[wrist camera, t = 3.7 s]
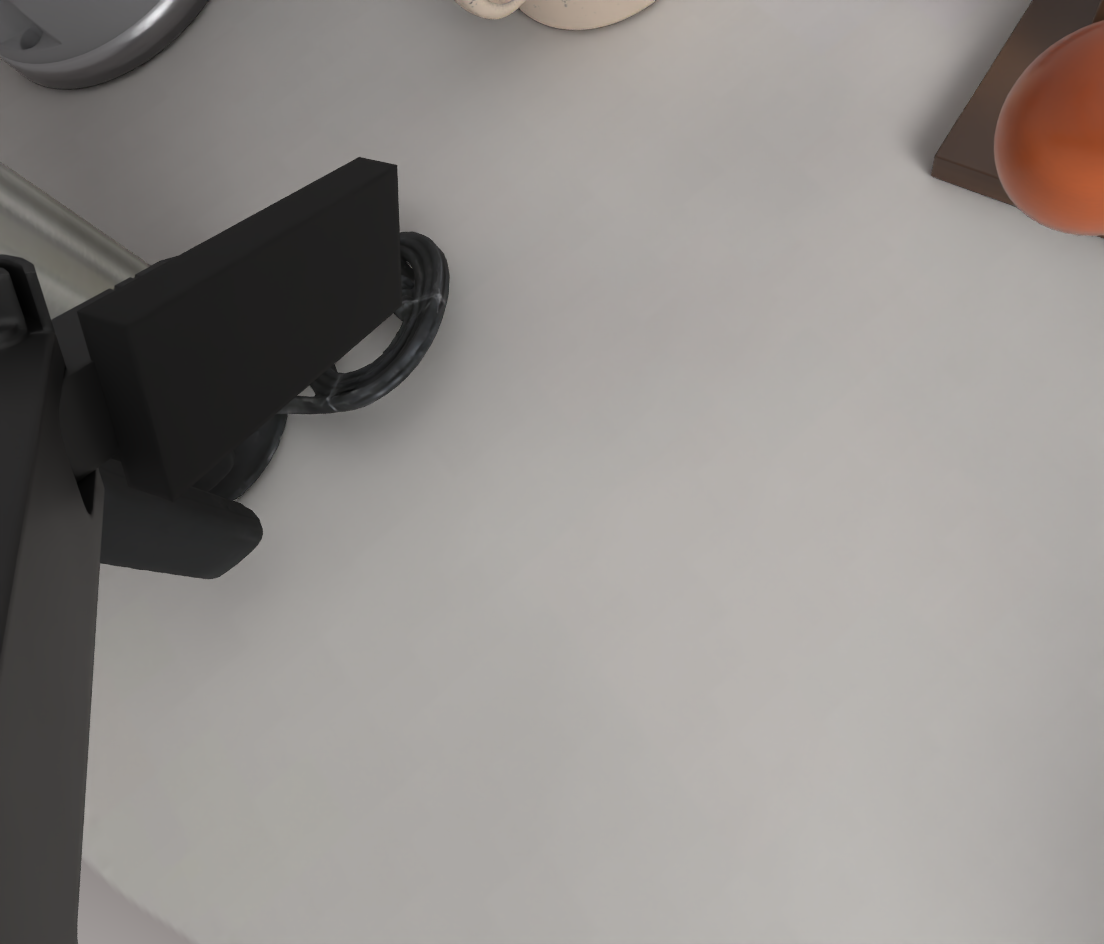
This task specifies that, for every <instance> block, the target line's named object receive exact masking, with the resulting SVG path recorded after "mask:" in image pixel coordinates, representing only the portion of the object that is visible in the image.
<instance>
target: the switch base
mask: <svg viewBox="0 0 1104 944" xmlns="http://www.w3.org/2000/svg"><path fill="white" fill-rule="evenodd" d="M1102 20H1104V0H1032V2H1031V4H1030V5H1029V7H1028V8H1027V10H1026V11H1025V13H1024V15H1023V16H1022V18H1021V19H1020V21H1019V23H1018V24H1017V26H1016V27H1015V29H1014V31H1013V32H1012V34H1011V35H1010V37H1009V38H1008V40H1007V42H1006V43H1005V45H1004V46H1003V48H1002V50H1001V51H1000V53H999V54H998V56H997V58H996V59H995V61H994V62H993V64H992V65H991V67H990V69H989V70H988V72H987V73H986V75H985V77H984V78H983V80H982V81H981V83H980V85H979V86H978V88H977V89H976V91H975V92H974V94H973V96H972V97H971V99H970V100H969V102H968V104H967V105H966V107H965V108H964V110H963V112H962V113H961V115H960V116H959V118H958V120H957V121H956V123H955V124H954V126H953V127H952V129H951V131H950V132H949V134H948V135H947V137H946V139H945V140H944V142H943V143H942V145H941V147H940V148H939V150H938V151H937V153H936V154H935V157H934V162H933V167H932V172H931V176H933V177H935V178H938V179H941V180H944V181H946V182H949V183H952V184H955V185H957V186H960V187H963V188H966V189H968V190H971V191H974V192H977V193H980V194H982V195H985V196H988V197H991V198H993V199H996V200H999V201H1002V202H1004V203H1007V204H1010V205H1013V206H1016V205H1015V204H1014V203H1013V202H1012V201H1011V199H1010V198H1009V196H1008V195H1007V193H1006V192H1005V190H1004V188H1003V186H1002V184H1001V182H1000V179H999V176H998V173H997V169H996V165H995V158H994V136H995V130H996V125H997V121H998V118H999V114H1000V111H1001V108H1002V106H1003V104H1004V102H1005V100H1006V97H1007V95H1008V93H1009V92H1010V90H1011V89H1012V87H1013V86H1014V84H1015V82H1016V81H1017V80H1018V78H1019V77H1020V76H1021V74H1022V73H1023V72H1024V71H1025V69H1026V68H1027V67H1028V66H1029V65H1030V64H1031V63H1032V62H1033V61H1034V60H1035V59H1036V58H1037V57H1038V56H1039V55H1040V54H1041V53H1042V52H1044V51H1045V50H1046V49H1047V48H1049V47H1050V46H1051V45H1053V44H1054V43H1056V42H1057V41H1059V40H1060V39H1062V38H1063V37H1065V36H1067V35H1069V34H1071V33H1073V32H1075V31H1076V30H1078V29H1080V28H1083V27H1085V26H1088V25H1090V24H1093V23H1095V22H1099V21H1102ZM1016 207H1017V206H1016ZM1098 236H1099V237H1101V238H1104V235H1098Z"/></svg>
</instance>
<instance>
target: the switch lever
mask: <svg viewBox="0 0 1104 944" xmlns="http://www.w3.org/2000/svg"><path fill="white" fill-rule="evenodd" d="M994 158H995V165H996V169H997V173H998V176H999V179H1000V182H1001V184H1002V186H1003V188H1004V190H1005V192H1006V193H1007V195H1008V196H1009V198H1010V199H1011V201H1012V202H1013V203H1014V204H1015V205H1016V206H1017V207H1018V209H1020V210H1021V211H1022V212H1023V213H1024V214H1026V215H1027V216H1028V217H1029V218H1031V219H1033V220H1034V221H1036V222H1038V223H1039V224H1041V225H1044V226H1046V227H1048V228H1050V229H1053V230H1056V231H1060V232H1063V233H1068V234H1074V235H1085V236H1098V235H1104V20H1102V21H1099V22H1095V23H1093V24H1090V25H1088V26H1085V27H1083V28H1080V29H1078V30H1076V31H1075V32H1073V33H1071V34H1069V35H1067V36H1065V37H1063V38H1062V39H1060V40H1059V41H1057V42H1056V43H1054V44H1053V45H1051V46H1050V47H1049V48H1047V49H1046V50H1045V51H1044V52H1042V53H1041V54H1040V55H1039V56H1038V57H1037V58H1036V59H1035V60H1034V61H1033V62H1032V63H1031V64H1030V65H1029V66H1028V67H1027V68H1026V69H1025V71H1024V72H1023V73H1022V74H1021V76H1020V77H1019V78H1018V80H1017V81H1016V82H1015V84H1014V86H1013V87H1012V89H1011V90H1010V92H1009V93H1008V95H1007V97H1006V100H1005V102H1004V104H1003V106H1002V108H1001V111H1000V114H999V118H998V121H997V125H996V130H995V136H994Z"/></svg>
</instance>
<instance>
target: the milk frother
mask: <svg viewBox="0 0 1104 944" xmlns="http://www.w3.org/2000/svg"><path fill="white" fill-rule="evenodd" d="M0 254H5V255H10V256H16V257H21V258H24V259H25V260H27V261H29V262H31V263H32V264H34V267H35V270H36V273H37V276H38V280H39V283H40V286H41V289H42V292H43V295H44V298H45V302H46V305H47V308H48V311H49V314H50V317H51V320H52V319H53V318H55V317H57V316H59V315H61V314H63V313H65V312H66V311H68V310H70V309H72V308H74V307H76V306H77V305H79V304H81V303H83V302H85V301H87V300H89V299H90V298H92V297H94V296H96V295H98V294H100V293H102V292H103V291H105V290H107V289H109V288H110V289H114V286H115V285H116V284H118V283H120V282H122V281H124V280H126V279H127V278H129V277H131V278H134V277H135V274H137V273H139V272H140V271H142V270H144V269H146V268H148V267H150V266H151V265H149V264H147V263H146V262H144V261H143V260H142V259H140V258H139V257H137V256H136V255H135V254H133V253H132V252H130V251H129V250H128V249H126V248H125V247H123V246H122V245H120V244H119V243H117V242H116V241H115V240H113V239H112V238H110V237H109V236H107V235H106V234H104V233H103V232H102V231H100V230H99V229H97V228H96V227H94V226H93V225H91V224H90V223H89V222H87V221H86V220H84V219H83V218H81V217H80V216H78V215H77V214H76V213H74V212H73V211H71V210H70V209H68V208H67V207H65V206H64V205H63V204H61V203H60V202H58V201H57V200H55V199H54V198H52V197H51V196H50V195H48V194H47V193H45V192H44V191H42V190H41V189H39V188H38V187H36V186H35V185H33V184H32V183H31V182H29V181H28V180H26V179H25V178H23V177H22V176H20V175H19V174H17V173H16V172H14V171H13V170H12V169H10V168H9V167H7V166H6V165H4V164H3V163H1V162H0ZM400 259H401V287H402V306H401V307H400V308H399V309H397V310H396V311H395V312H394V314H395V315H396V316H397V317H398V318H399V319H401V320H402V321H403V323H402V325H401V327H400V329H399V331H398V332H397V334H396V337H395V338H394V339H393V341H392V342H391V344H390V345H389V347H388V348H387V349H386V350H385V351H384V352H383V354H382V355H381V356H380V357H379V358H378V359H376V360H375V361H374V362H373V363H371V364H369V365H367V366H365V367H363V368H361V369H359V370H356V371H353V372H348V373H338V372H337V371H336V367H335V365H334V364H333V365H332V366H331V367H330V368H329V369H328V370H326V371H325V372H324V373H323V374H322V375H321V376H319V377H318V378H317V379H316V380H315V381H314V382H312V383H311V384H310V386H311V388H312V389H313V390H314V392H315V394H316V395H315V396H314V397H307V396H296V397H295V398H294V399H293V400H291V401H290V402H289V403H288V404H287V405H286V406H284V407H283V408H282V409H281V410H280V411H279V412H277V413H276V414H275V415H274V416H273V417H272V418H270V419H269V420H268V421H267V422H266V423H265V424H263V425H262V426H261V427H260V428H259V429H258V430H256V431H255V432H254V433H253V434H252V435H251V436H250V437H248V438H247V439H246V440H245V441H244V442H243V443H241V444H240V445H239V446H238V447H237V448H236V449H234V450H233V451H232V452H231V453H230V454H229V455H227V456H226V457H225V458H224V459H223V460H222V461H220V462H219V463H218V464H217V465H216V466H215V467H213V468H212V469H211V470H210V471H209V472H208V473H206V474H205V475H204V476H203V477H202V478H201V479H199V480H198V481H197V482H196V483H195V484H194V485H192V486H191V487H190V488H189V489H188V490H187V491H185V492H184V493H183V494H182V495H181V496H180V497H178V498H177V499H176V500H175V501H174V502H172V501H169V500H166V499H163V498H160V497H157V496H154V495H151V494H148V493H145V492H142V491H139V490H136V489H133V488H131V487H128V484H127V481H126V477H125V474H124V470H123V467H122V464H121V460H120V457H119V454H118V453H117V454H116V455H114V456H113V457H112V458H110V459H109V460H108V461H106V462H105V463H104V464H102V465H101V466H100V467H98V469H99V472H100V475H101V478H102V482H103V485H104V488H105V490H104V506H103V522H102V538H101V554H100V563H103V564H108V565H114V566H121V567H129V568H133V569H138V570H149V571H154V572H161V573H168V574H174V575H182V576H189V577H194V578H202V579H213V578H217V577H220V576H221V575H223V574H224V573H225V572H227V571H228V570H230V569H231V568H232V567H234V566H235V565H237V564H238V563H239V562H240V561H241V560H242V559H243V558H245V557H246V556H247V555H248V554H249V553H250V552H251V551H253V550H254V548H255V547H256V546H257V545H258V544H259V542H260V541H261V539H262V535H263V529H262V526H261V523H260V520H259V518H258V517H257V516H256V515H255V513H254V512H253V511H252V510H250V509H249V508H247V507H245V506H244V505H242V504H241V503H238V502H233V500H235V499H236V498H237V497H239V496H241V495H242V494H243V493H244V492H245V491H246V490H247V489H248V488H249V487H250V486H251V485H252V484H253V483H254V482H255V481H256V479H257V478H258V477H259V476H260V474H261V473H262V472H263V470H264V469H265V467H266V466H267V465H268V463H269V461H270V460H271V458H272V456H273V454H274V452H275V451H276V449H277V447H278V444H279V441H280V437H281V435H282V433H283V430H284V427H285V423H286V419H287V414H326V413H335V412H343V411H350V410H355V409H358V408H362V407H365V406H367V405H369V404H371V403H373V402H374V401H376V400H378V399H380V398H382V397H383V396H385V395H386V394H388V393H389V392H390V391H392V390H393V389H394V388H396V387H397V386H398V385H399V384H400V383H401V382H402V381H404V380H405V379H406V378H407V377H408V376H409V374H410V373H411V372H412V371H413V370H414V369H415V367H416V366H417V365H418V364H419V362H420V361H421V360H422V358H423V357H424V355H425V353H426V352H427V350H428V348H429V347H430V345H431V344H432V342H433V340H434V338H435V336H436V334H437V331H438V329H439V326H440V323H441V320H442V318H443V314H444V311H445V307H446V303H447V298H448V292H449V269H448V264H447V260H446V258H445V256H444V253H443V252H442V251H441V250H440V249H439V248H438V247H437V246H436V244H435V243H434V242H433V241H432V240H431V239H430V238H428V237H426V236H424V235H422V234H419V233H416V232H400ZM406 262H409V263H410V265H411V266H412V268H413V269H412V268H411V267H410V266H409V265H408V264H407V263H406Z"/></svg>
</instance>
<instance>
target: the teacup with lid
mask: <svg viewBox="0 0 1104 944" xmlns="http://www.w3.org/2000/svg"><path fill="white" fill-rule="evenodd" d="M455 1H456V2H457V3H458V4H459V5H460V6H461V7H462V8H463V9H465V10H466V11H468V12H470V13H472V14H474V15H477V16H479V17H482V18H485V19H501V18H504V17H506V16H508V15H510V14H512V13H513V12H514V11H516V10H517V9H518V8H519V9H520V10H521V11H523V12H524V13H525V14H526V15H528V16H529V17H530V18H532V19H534V20H535V21H537V22H539V23H542V24H544V25H547V26H550V27H554V28H559V29H567V30H586V29H594V28H599V27H603V26H607V25H611V24H614V23H617V22H619V21H622V20H624V19H627V18H629V17H631V16H633V15H635V14H636V13H638V12H640V11H642V10H643V9H645V8H646V7H648V6H649V5H651V4H652V3H653V2H655V1H656V0H455Z"/></svg>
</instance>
